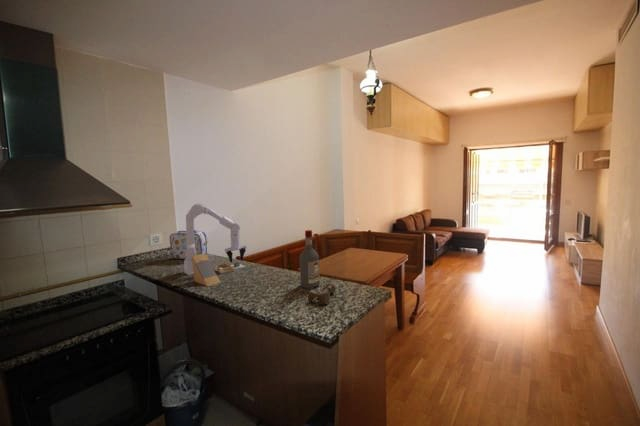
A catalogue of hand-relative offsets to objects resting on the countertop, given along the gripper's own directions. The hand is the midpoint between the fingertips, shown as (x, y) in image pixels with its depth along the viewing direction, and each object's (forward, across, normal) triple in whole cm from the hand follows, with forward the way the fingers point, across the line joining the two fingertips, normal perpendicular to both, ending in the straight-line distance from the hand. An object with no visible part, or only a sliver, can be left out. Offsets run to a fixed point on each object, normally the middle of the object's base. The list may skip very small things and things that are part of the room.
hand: (236, 260), depth 206 cm
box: (+4, -10, -3) cm, 11 cm away
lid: (+5, 0, 0) cm, 5 cm away
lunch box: (+4, -14, +46) cm, 48 cm away
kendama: (+4, +2, -82) cm, 82 cm away
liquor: (+4, +11, -63) cm, 64 cm away
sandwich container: (+4, -26, -15) cm, 31 cm away
